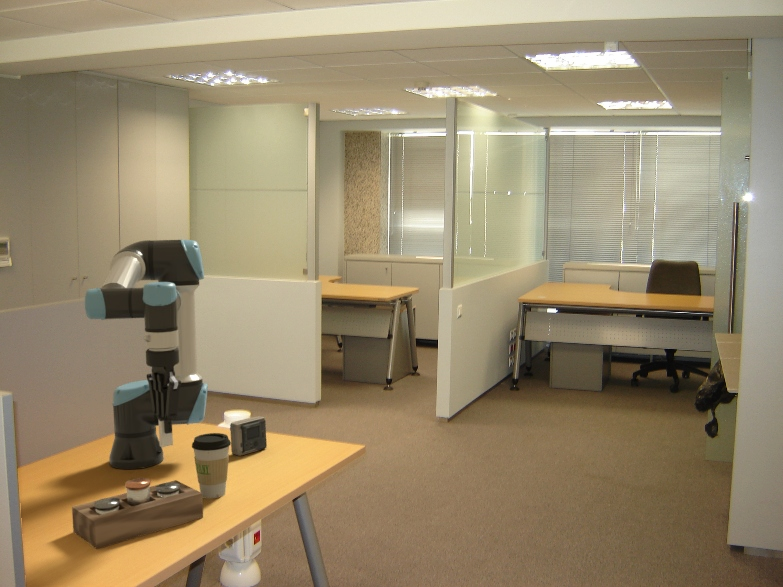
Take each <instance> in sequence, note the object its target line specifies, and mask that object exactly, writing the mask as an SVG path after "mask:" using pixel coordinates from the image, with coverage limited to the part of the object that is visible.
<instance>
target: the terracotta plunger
mask: <svg viewBox="0 0 783 587" xmlns="http://www.w3.org/2000/svg"><path fill="white" fill-rule="evenodd" d="M124 487H125V488H126V493H127V504H129V505H130V506H136V505H139V504H143V503H147V502H150V495H149V487H151V479H149V478H147V477H137V478H132V479H131V478H130V479H129V480H127V481H125V482H124Z"/></svg>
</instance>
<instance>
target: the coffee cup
mask: <svg viewBox="0 0 783 587" xmlns="http://www.w3.org/2000/svg"><path fill="white" fill-rule="evenodd" d="M230 447H231V439H230V438H229V436H228V434H225V433H220V432H219V433H218V432H213V433H212V432H211V433H203V434H199V435H196V436H195V437H194V438H193V442H192V443H191V448H192V449H193V453H194V457H193V458H194V463H195V469H196V475H197V477H196V478H197V482H198V485H199V492H201V493H202V499H219V498H221V497H223V496H224V495H226V488H227V481H228V471H229V459H230V454H229V451H230Z"/></svg>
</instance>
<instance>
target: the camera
mask: <svg viewBox="0 0 783 587" xmlns="http://www.w3.org/2000/svg"><path fill="white" fill-rule="evenodd" d="M229 431H230V442H231V445H230V447H231V449H230V450H231V454H232V455H235V456H238V457H240V456H241V457H242V456H243V455H248V454H250V453H254V452H255V453H256V452H258V451H261V450H265V449H267V447H268V445H267V428H266V419H265V417H264V416H259V415H258V416H253V417H248V418H244V419H240V420H235V421H232V422H231V423H230V424H229Z"/></svg>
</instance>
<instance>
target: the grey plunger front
mask: <svg viewBox="0 0 783 587" xmlns="http://www.w3.org/2000/svg"><path fill="white" fill-rule="evenodd" d="M95 501H96V502H94V508H95V509H96V513H97V514H99V515H102V514H106V513H110V512H113V511H117V510H119V505H120V499H118V498H108V497H104V498H100V499H97V500H95Z"/></svg>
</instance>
